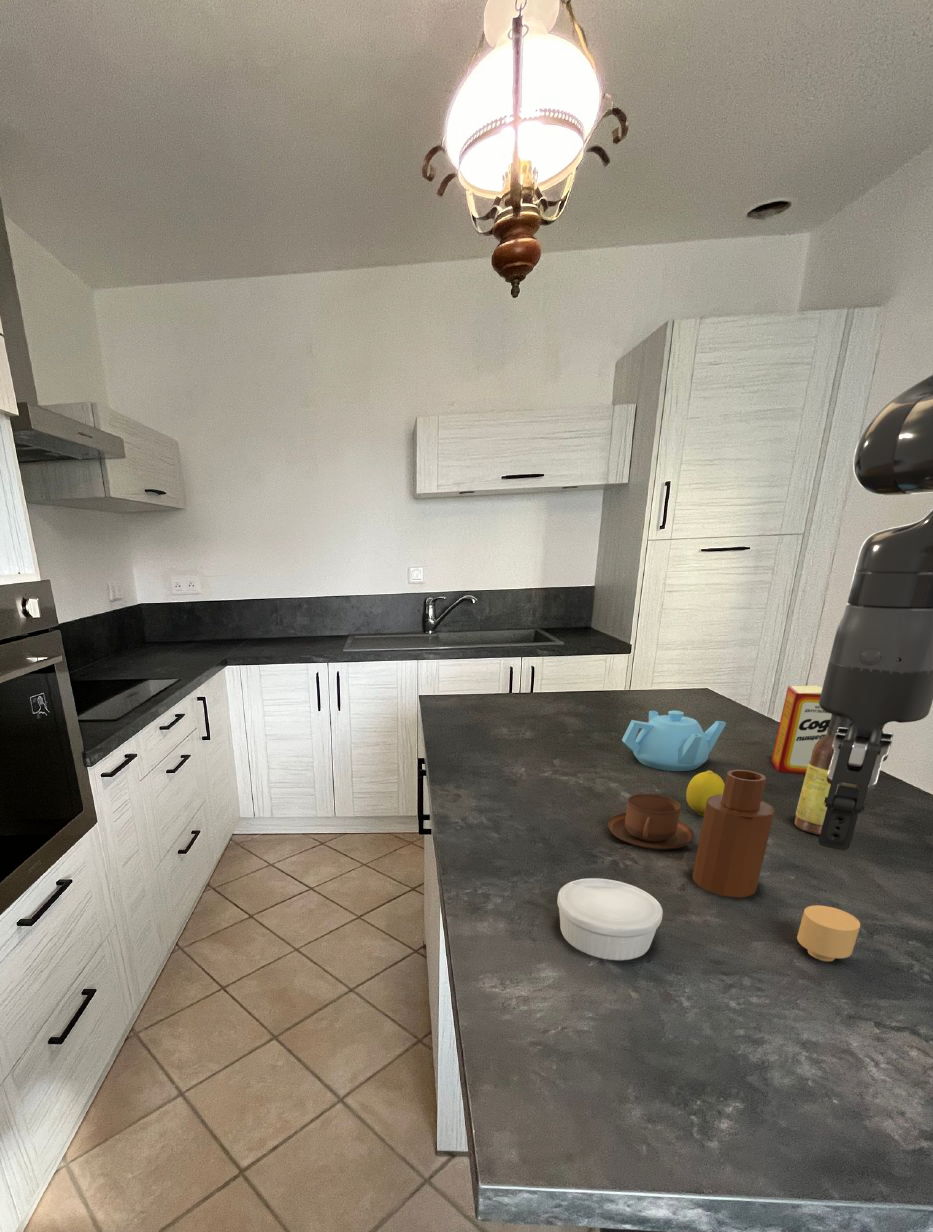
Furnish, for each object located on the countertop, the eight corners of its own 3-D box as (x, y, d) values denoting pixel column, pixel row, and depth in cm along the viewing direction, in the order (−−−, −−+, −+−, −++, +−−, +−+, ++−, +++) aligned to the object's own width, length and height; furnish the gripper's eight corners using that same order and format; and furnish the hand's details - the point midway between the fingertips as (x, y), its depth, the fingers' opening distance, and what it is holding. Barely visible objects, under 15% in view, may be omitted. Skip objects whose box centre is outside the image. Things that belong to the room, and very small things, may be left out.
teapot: (646, 746, 139) (653, 699, 135) (720, 760, 129) (729, 709, 125) (616, 763, 129) (622, 712, 125) (693, 779, 119) (702, 725, 115)
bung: (838, 951, 69) (850, 909, 67) (854, 978, 65) (868, 933, 63) (787, 943, 71) (798, 902, 69) (799, 969, 66) (812, 925, 64)
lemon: (719, 824, 100) (729, 778, 97) (681, 818, 103) (689, 773, 100) (721, 812, 104) (730, 768, 102) (684, 806, 107) (691, 763, 104)
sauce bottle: (832, 841, 93) (868, 713, 86) (785, 828, 98) (815, 705, 91) (848, 829, 97) (883, 705, 90) (802, 817, 102) (832, 698, 94)
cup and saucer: (702, 860, 89) (709, 821, 87) (613, 853, 92) (618, 816, 90) (680, 825, 100) (686, 790, 98) (601, 820, 103) (605, 786, 101)
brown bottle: (747, 878, 84) (772, 768, 78) (760, 906, 78) (788, 788, 72) (688, 871, 87) (708, 763, 81) (696, 897, 80) (718, 782, 75)
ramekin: (630, 912, 78) (636, 875, 76) (675, 968, 67) (683, 927, 65) (541, 915, 78) (545, 878, 76) (572, 971, 67) (577, 930, 65)
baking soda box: (827, 765, 123) (847, 686, 118) (836, 776, 118) (858, 693, 112) (771, 761, 127) (788, 684, 121) (778, 771, 121) (796, 691, 116)
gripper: (945, 678, 45) (885, 872, 51) (943, 650, 55) (892, 815, 61) (820, 668, 50) (777, 847, 56) (838, 644, 60) (800, 798, 66)
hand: (837, 830), depth 59 cm, fingers open, 8 cm apart
